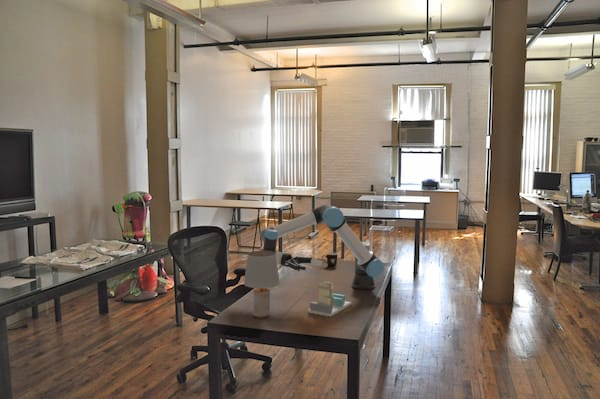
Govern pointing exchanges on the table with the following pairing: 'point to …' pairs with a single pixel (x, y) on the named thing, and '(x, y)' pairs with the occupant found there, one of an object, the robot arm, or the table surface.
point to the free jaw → (338, 299)
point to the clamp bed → (334, 310)
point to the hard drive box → (366, 245)
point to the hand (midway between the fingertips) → (316, 266)
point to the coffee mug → (331, 259)
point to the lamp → (261, 279)
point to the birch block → (326, 293)
